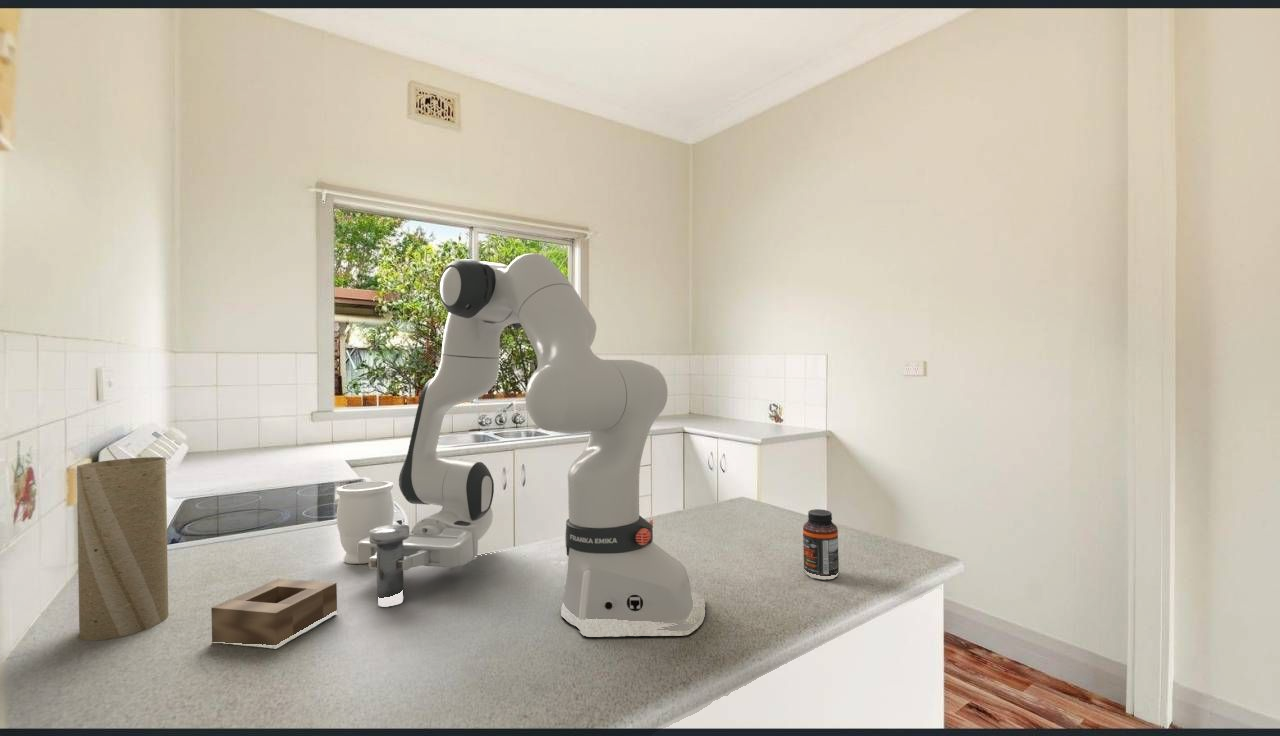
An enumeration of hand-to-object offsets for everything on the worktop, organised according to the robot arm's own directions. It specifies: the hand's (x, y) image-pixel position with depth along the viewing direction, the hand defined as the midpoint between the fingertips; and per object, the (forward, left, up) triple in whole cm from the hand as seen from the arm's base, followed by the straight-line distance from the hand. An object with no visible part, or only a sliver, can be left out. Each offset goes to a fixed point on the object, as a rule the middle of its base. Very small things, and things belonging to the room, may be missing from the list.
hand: (386, 564), depth 89 cm
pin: (0, -1, -7) cm, 7 cm away
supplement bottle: (-70, -24, -7) cm, 74 cm away
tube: (+36, +13, -7) cm, 39 cm away
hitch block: (+11, +10, -7) cm, 16 cm away
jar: (+20, -20, -7) cm, 29 cm away
